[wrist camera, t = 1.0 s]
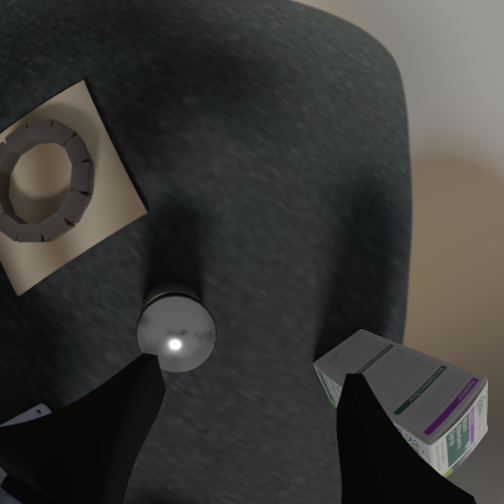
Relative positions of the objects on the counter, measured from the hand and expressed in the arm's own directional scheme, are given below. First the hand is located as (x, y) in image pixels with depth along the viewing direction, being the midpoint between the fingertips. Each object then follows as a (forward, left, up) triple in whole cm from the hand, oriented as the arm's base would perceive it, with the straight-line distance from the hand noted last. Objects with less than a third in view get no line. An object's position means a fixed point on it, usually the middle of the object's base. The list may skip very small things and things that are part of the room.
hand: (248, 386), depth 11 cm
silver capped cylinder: (-2, +1, -12) cm, 13 cm away
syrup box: (+8, -12, -13) cm, 19 cm away
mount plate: (-6, +14, -12) cm, 20 cm away
